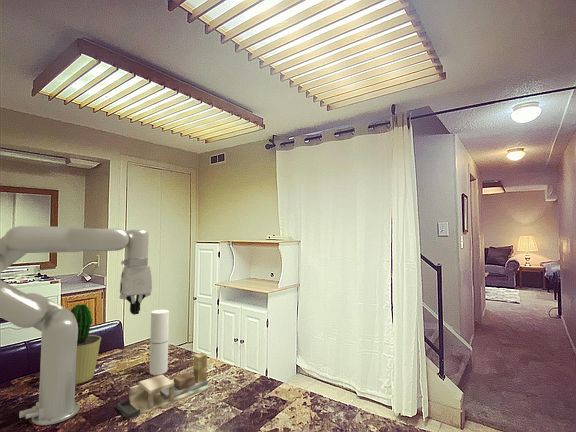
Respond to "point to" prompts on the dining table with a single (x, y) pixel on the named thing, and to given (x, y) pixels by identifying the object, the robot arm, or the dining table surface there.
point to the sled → (190, 377)
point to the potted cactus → (85, 345)
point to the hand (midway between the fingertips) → (134, 313)
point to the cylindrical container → (159, 342)
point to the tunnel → (152, 396)
